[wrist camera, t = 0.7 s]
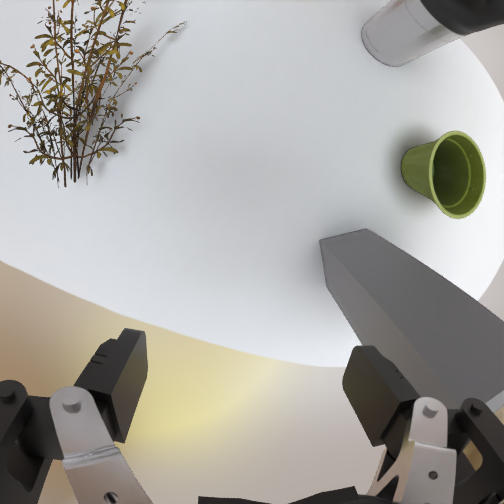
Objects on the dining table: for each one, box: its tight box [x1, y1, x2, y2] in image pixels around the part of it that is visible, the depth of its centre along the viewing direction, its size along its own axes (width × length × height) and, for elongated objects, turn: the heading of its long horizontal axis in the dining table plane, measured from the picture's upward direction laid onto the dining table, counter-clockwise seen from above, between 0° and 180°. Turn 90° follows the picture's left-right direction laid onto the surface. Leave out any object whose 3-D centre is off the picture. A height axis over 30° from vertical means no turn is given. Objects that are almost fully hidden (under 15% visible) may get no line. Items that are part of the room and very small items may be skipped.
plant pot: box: [401, 131, 486, 219], centre depth 33 cm, size 12×12×11 cm
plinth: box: [319, 229, 504, 413], centre depth 26 cm, size 8×8×34 cm
